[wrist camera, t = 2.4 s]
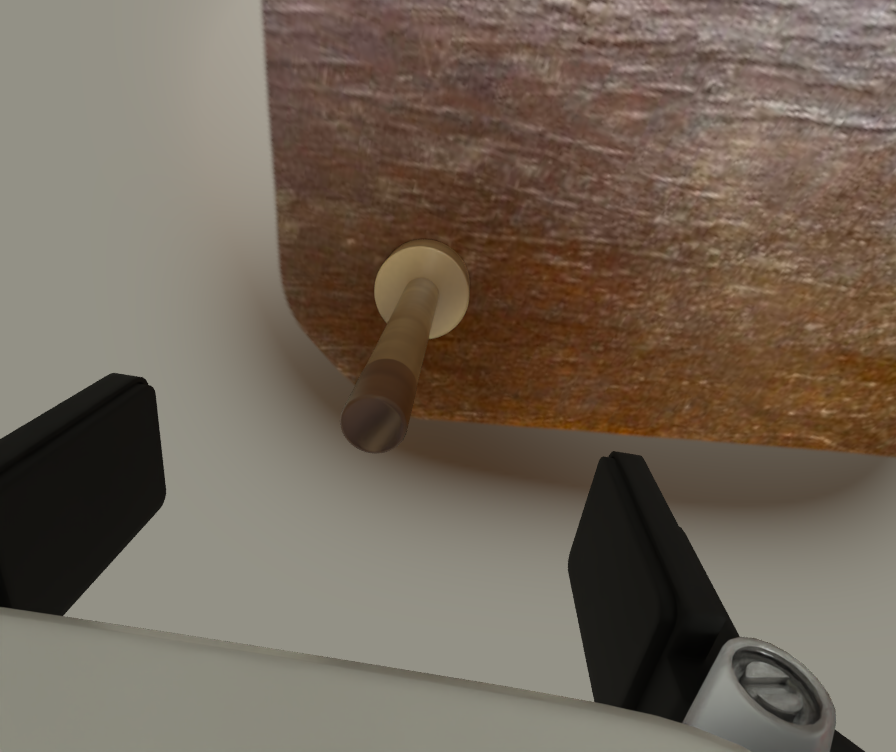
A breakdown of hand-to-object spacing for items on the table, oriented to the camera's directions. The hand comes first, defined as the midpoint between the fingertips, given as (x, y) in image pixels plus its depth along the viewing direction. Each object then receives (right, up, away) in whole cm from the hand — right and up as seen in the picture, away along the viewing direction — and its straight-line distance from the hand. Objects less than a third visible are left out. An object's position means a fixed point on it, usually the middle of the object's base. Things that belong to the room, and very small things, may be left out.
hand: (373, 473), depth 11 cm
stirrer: (0, +7, +14) cm, 16 cm away
